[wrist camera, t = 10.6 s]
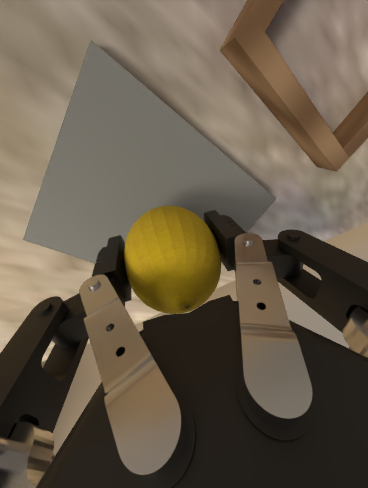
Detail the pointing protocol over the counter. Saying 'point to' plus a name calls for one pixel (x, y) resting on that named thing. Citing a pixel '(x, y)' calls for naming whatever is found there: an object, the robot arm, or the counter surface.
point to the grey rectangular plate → (130, 166)
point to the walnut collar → (289, 90)
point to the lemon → (172, 259)
